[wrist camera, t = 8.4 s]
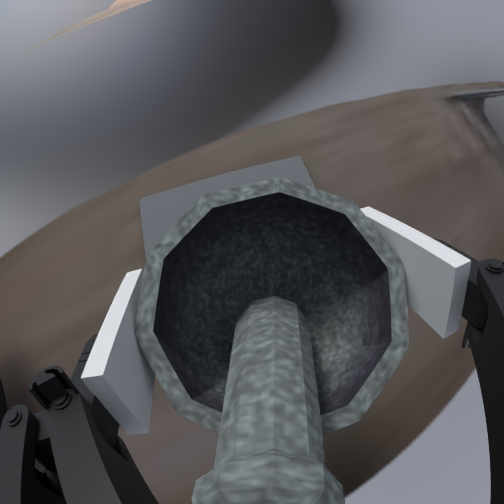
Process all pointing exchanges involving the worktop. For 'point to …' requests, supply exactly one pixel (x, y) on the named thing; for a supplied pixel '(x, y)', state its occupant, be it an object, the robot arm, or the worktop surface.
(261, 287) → the mortar and pestle
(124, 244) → the worktop surface
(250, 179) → the rubber mat
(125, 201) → the worktop surface
